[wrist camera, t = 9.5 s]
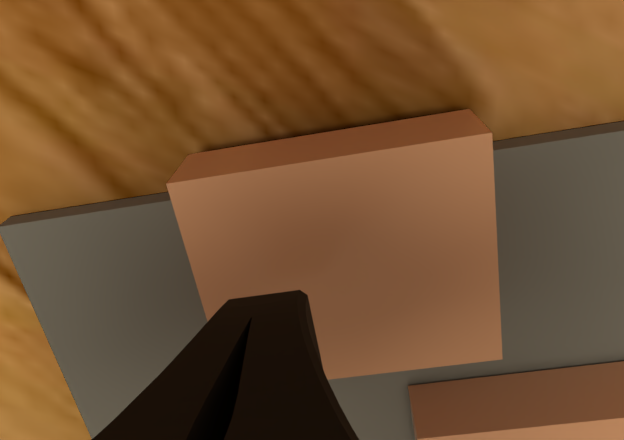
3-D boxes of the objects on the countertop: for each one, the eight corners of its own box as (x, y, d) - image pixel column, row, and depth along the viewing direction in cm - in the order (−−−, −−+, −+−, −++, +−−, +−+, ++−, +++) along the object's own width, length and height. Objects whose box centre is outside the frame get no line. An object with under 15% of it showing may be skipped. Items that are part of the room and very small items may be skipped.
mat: (623, 546, 18) (633, 565, 17) (169, 583, 19) (164, 601, 19) (656, 115, 12) (671, 123, 12) (10, 216, 14) (-3, 226, 13)
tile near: (240, 340, 14) (481, 310, 14) (228, 391, 12) (502, 359, 12) (189, 153, 12) (469, 108, 12) (166, 183, 10) (492, 132, 10)
